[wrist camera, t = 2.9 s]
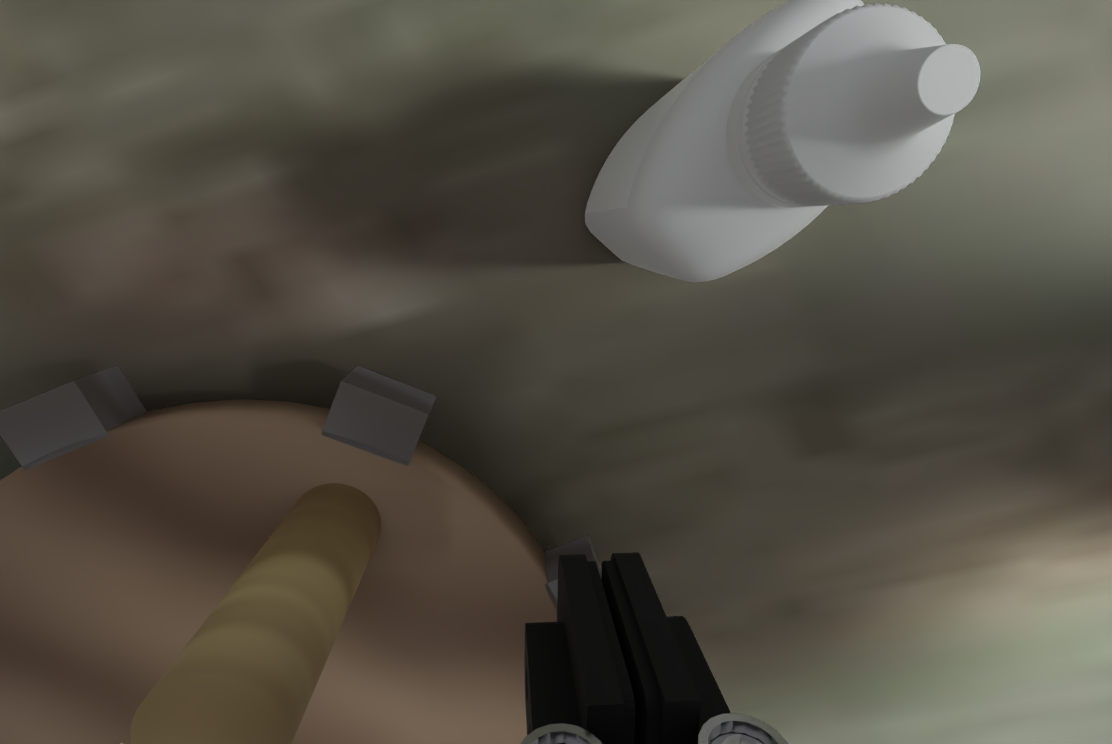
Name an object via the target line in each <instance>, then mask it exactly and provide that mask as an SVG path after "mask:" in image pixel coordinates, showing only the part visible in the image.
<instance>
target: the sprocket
mask: <svg viewBox="0 0 1112 744" xmlns="http://www.w3.org/2000/svg"><path fill="white" fill-rule="evenodd" d="M436 397H437V396H435V395H432V394H430V393H427V392H425V391H422V390H419V389H417V388H414V387H412V386H409V385H407V384H404V383H401V382H399V381H396V380H394V379H391V378H388V377H386V376H383V375H381V374H378V373H375V372H373V371H370V370H368V369H365V368H362V367H360V366H356V367H355V368H354V369H353V370H352V371H351V372H350V373H349V374H348V375H347V376H345V377H344V378H343V379H342V380H341V382H340V384H339V387H338V390H337V392H336V395H335V398H334V401H333V403H332V406H331V409H328V408H323V407H317V406H312V405H306V404H300V403H295V402H286V401H269V400H252V399H236V400H220V401H204V402H194V403H188V404H183V405H178V406H173V407H167V408H162V409H157V410H151V411H148V412H147V411H146V410H145V408H144V407H143V405H142V403H141V402H140V400H139V398H138V397H137V395H136V393H135V392H134V390H133V389H132V387H131V385H130V384H129V382H128V380H127V379H126V377H125V376H124V374H123V372H122V371H121V369H120V367H119V366H118V365H116V366H113V367H111V368H108V369H105V370H102V371H99V372H97V373H94V374H91V375H88V376H85V377H82V378H80V379H77V380H74V381H71V382H69V383H67V384H64V385H62V386H59V387H57V388H54V389H52V390H49V391H47V392H44V393H42V394H39V395H37V396H35V397H32V398H30V399H27V400H25V401H22V402H20V403H17V404H15V405H12V406H10V407H7V408H5V409H3V410H0V436H1V437H2V439H3V440H4V442H5V443H6V444H7V446H8V447H9V449H10V450H11V452H12V453H13V455H14V456H15V457H16V459H17V460H18V462H19V463H20V465H21V466H22V467H20V468H18V469H17V470H15V471H14V472H12V473H11V474H9V475H8V476H6V477H5V478H3V479H2V480H0V744H520V743H521V742H522V741H523V740H524V738H525V737H526V736H527V723H526V704H525V665H524V653H525V623H536V622H557V597H558V560H559V555H579V554H585V555H586V558H587V561H596V563H597V567H598V570H599V574H600V577H601V573H602V568H601V565H600V563H599V560H598V558H597V556H596V553H595V551H594V549H593V546H592V544H591V542H590V539H589V537H588V535H585V536H583V537H580V538H578V539H575V540H573V541H570V542H568V543H565V544H562V545H560V546H557V547H555V548H552V549H550V550H547V551H545V552H544V550H543V549H542V547H541V546H540V544H539V543H538V542H537V540H536V539H535V538H534V536H533V535H532V534H531V532H530V531H529V530H528V528H527V527H526V526H525V524H524V523H523V522H522V520H521V519H520V518H519V517H518V516H517V515H516V514H515V513H514V512H513V510H512V509H511V508H510V507H509V506H508V505H507V504H506V503H505V502H504V501H503V500H502V499H501V498H500V497H499V496H498V495H497V494H496V493H495V492H494V491H493V490H492V489H491V488H489V487H488V486H487V485H486V484H484V483H483V482H482V481H480V480H479V479H478V478H477V477H475V476H474V475H473V474H472V473H470V472H469V471H468V470H466V469H465V468H464V467H463V466H461V465H460V464H459V463H457V462H455V461H454V460H452V459H450V458H449V457H447V456H445V455H444V454H442V453H440V452H439V451H437V450H435V449H434V448H432V447H430V446H429V445H427V444H425V443H424V442H422V441H420V440H419V439H420V436H421V434H422V431H423V429H424V426H425V424H426V421H427V419H428V416H429V414H430V411H431V409H432V407H433V404H434V402H435V399H436Z"/></svg>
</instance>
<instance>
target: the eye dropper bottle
mask: <svg viewBox="0 0 1112 744" xmlns="http://www.w3.org/2000/svg"><path fill="white" fill-rule="evenodd" d="M979 82H980V66H979V63H978V60H977V58H976V56H975V55H974V53H973V52H972V51H971V50H970V49H968V48H967V47H965V46H963V45H959V44H947V45H946V43H944V41H943V39H942V36H941V35H939V34H938V32H937V30H936V28H933V27H932V26H931V24H930V23H929V22H926V21H925V20H924V18H923V17H922V16H918V15H917V14H916V13H915V12H914V11H912V12H910V11H909V10H907V9H906V8H905V7H904V8H902V9H901V8H900V7H898V6H897V5H896V4H895V5H893V6H890V5H889V4H887V3H885V4H883V5H880V4H878V3H875V4H873V5H870V4H867V3H866V4H864V3H863V2H862V1H861V0H790V1H788V2H786V3H784V4H782V5H780V6H779V7H777V8H775V9H774V10H772V11H770V12H769V13H767V14H766V15H764V16H762V17H761V18H760V19H758V20H757V21H755V22H754V23H752V24H751V25H749V26H748V27H746V28H745V29H744V30H743V31H741V32H740V33H739V34H737V35H736V36H735V37H734V38H732V39H731V40H730V41H729V42H727V43H726V44H725V45H724V46H723V47H721V48H720V49H719V50H718V51H717V52H715V53H714V54H713V55H712V56H711V57H709V58H708V59H707V60H706V61H705V62H703V63H702V64H701V65H700V66H699V67H698V68H696V69H695V70H694V71H693V72H692V73H690V74H689V75H688V76H687V77H686V78H684V79H683V80H682V81H681V82H680V83H679V84H677V85H676V86H675V87H674V88H673V89H671V90H670V91H669V92H668V93H667V94H666V95H664V96H663V97H662V98H661V99H660V100H658V101H657V102H656V103H655V104H654V105H653V106H651V107H650V108H649V109H648V110H647V111H646V112H645V113H644V114H643V115H641V116H640V117H639V118H638V119H637V120H636V121H635V122H634V124H633V125H632V126H631V127H630V128H629V129H628V130H627V131H626V132H625V134H624V135H623V136H622V138H621V139H620V140H619V141H618V143H617V144H616V146H615V147H614V148H613V150H612V151H611V153H610V155H609V156H608V158H607V159H606V161H605V163H604V165H603V167H602V168H601V170H600V172H599V174H598V176H597V179H596V181H595V183H594V186H593V188H592V191H591V193H590V196H589V199H588V202H587V206H586V210H585V224H586V226H587V227H588V229H589V231H590V232H591V233H592V234H593V235H594V236H595V237H596V238H597V239H598V240H599V241H600V242H601V243H603V244H604V245H605V246H606V247H607V248H608V249H609V250H610V251H611V252H612V253H614V254H615V255H616V256H617V257H618V258H620V259H621V260H622V261H624V262H626V263H629V264H631V265H634V266H637V267H640V268H643V269H646V270H649V271H652V272H655V273H659V274H662V275H665V276H669V277H672V278H675V279H679V280H683V281H688V282H704V281H712V280H715V279H718V278H721V277H723V276H726V275H728V274H730V273H733V272H735V271H737V270H739V269H741V268H743V267H746V266H747V265H749V264H751V263H753V262H755V261H757V260H759V259H760V258H762V257H764V256H765V255H767V254H768V253H770V252H772V251H773V250H775V249H777V248H778V247H779V246H781V245H782V244H784V243H785V242H787V241H788V240H790V239H791V238H792V237H794V236H795V235H796V234H797V233H799V232H800V231H801V230H802V229H804V228H805V227H806V226H807V225H808V224H809V223H810V222H812V221H813V220H814V219H815V218H816V217H817V216H818V215H819V214H821V213H822V211H823V210H824V209H825V208H826V207H827V206H828V205H843V204H859V203H869V202H871V201H879V200H880V199H881V198H888V197H889V196H890V195H891V194H896V193H897V192H898V191H899V190H900V189H905V188H906V187H907V185H908V184H910V183H913V182H914V181H915V179H916V178H917V177H921V175H922V173H923V171H924V170H927V169H928V167H929V165H930V163H931V162H934V160H935V158H936V156H937V154H938V153H940V151H941V148H942V145H944V144H945V142H946V138H947V136H948V135H949V133H950V128H951V126H952V124H953V118H954V115H955V113H956V112H958V111H960V110H961V109H963V108H964V107H965V106H967V105H968V104H969V102H970V101H971V100H972V99H973V97H974V95H975V94H976V91H977V89H978V86H979Z"/></svg>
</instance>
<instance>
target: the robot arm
mask: <svg viewBox="0 0 1112 744" xmlns="http://www.w3.org/2000/svg"><path fill="white" fill-rule="evenodd" d="M524 665H525V704H526V723H527V736H526V737H525V738H524V740H523V741H522V742H521V743H520V744H788V742H787V741H786V740H785V739H784V738H783V737H782V736H781V735H780V734H779V732H778V731H777V730H775V729H774V728H772V727H771V726H769V725H768V724H766V723H765V722H763V721H761V720H758V719H756V718H754V717H751V716H748V715H743V714H738V713H730V711H729V708H728V706H727V704H726V702H725V700H724V698H723V696H722V694H721V691H720V689H719V687H718V685H717V683H716V681H715V679H714V677H713V675H712V672H711V670H710V668H709V666H708V664H707V662H706V660H705V658H704V656H703V653H702V651H701V649H700V647H699V645H698V643H697V641H696V639H695V637H694V634H693V632H692V630H691V628H690V626H689V624H688V622H687V620H686V619H685V618H684V617H682V616H674V617H666V615H665V612H664V610H663V608H662V605H661V603H660V601H659V598H658V596H657V594H656V591H655V589H654V587H653V584H652V582H651V579H650V577H649V575H648V572H647V570H646V568H645V565H644V563H643V561H642V558H641V556H640V554H639V553H613V554H612V556H611V561H603V562H602V573H601V577H600V574H599V570H598V567H597V563H596V561H587V558H586V555H585V554H579V555H559V560H558V597H557V622H536V623H525V653H524Z"/></svg>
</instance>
